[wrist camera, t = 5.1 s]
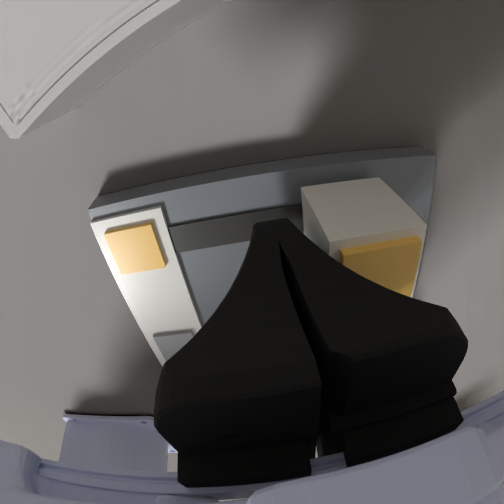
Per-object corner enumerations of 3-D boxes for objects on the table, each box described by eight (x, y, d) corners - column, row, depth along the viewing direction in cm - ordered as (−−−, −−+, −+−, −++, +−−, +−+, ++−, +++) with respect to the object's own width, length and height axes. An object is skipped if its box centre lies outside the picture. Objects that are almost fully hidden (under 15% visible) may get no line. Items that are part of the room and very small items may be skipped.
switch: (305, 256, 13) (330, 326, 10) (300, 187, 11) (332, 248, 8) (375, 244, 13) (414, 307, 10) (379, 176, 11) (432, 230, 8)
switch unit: (193, 399, 21) (193, 417, 20) (96, 196, 12) (83, 215, 11) (383, 365, 21) (390, 382, 20) (421, 146, 12) (441, 158, 11)
